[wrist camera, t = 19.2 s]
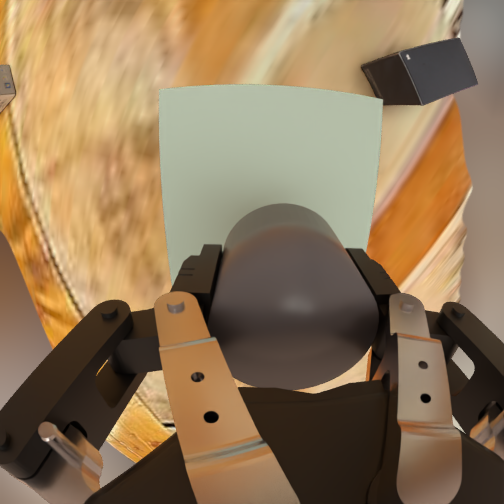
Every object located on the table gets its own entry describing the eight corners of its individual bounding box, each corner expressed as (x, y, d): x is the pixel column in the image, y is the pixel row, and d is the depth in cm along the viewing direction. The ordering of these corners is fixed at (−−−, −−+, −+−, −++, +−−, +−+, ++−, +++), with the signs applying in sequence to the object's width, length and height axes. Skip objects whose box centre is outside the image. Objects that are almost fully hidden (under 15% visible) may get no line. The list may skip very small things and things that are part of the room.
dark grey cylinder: (221, 201, 11) (200, 260, 7) (347, 206, 11) (399, 265, 7) (223, 305, 14) (212, 389, 9) (328, 306, 14) (354, 386, 9)
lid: (162, 90, 19) (159, 89, 18) (378, 100, 19) (382, 99, 19) (174, 283, 27) (172, 288, 26) (354, 285, 27) (357, 290, 26)
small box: (380, 109, 30) (423, 109, 21) (358, 65, 28) (395, 50, 18) (434, 87, 28) (481, 86, 19) (415, 47, 26) (459, 34, 16)
